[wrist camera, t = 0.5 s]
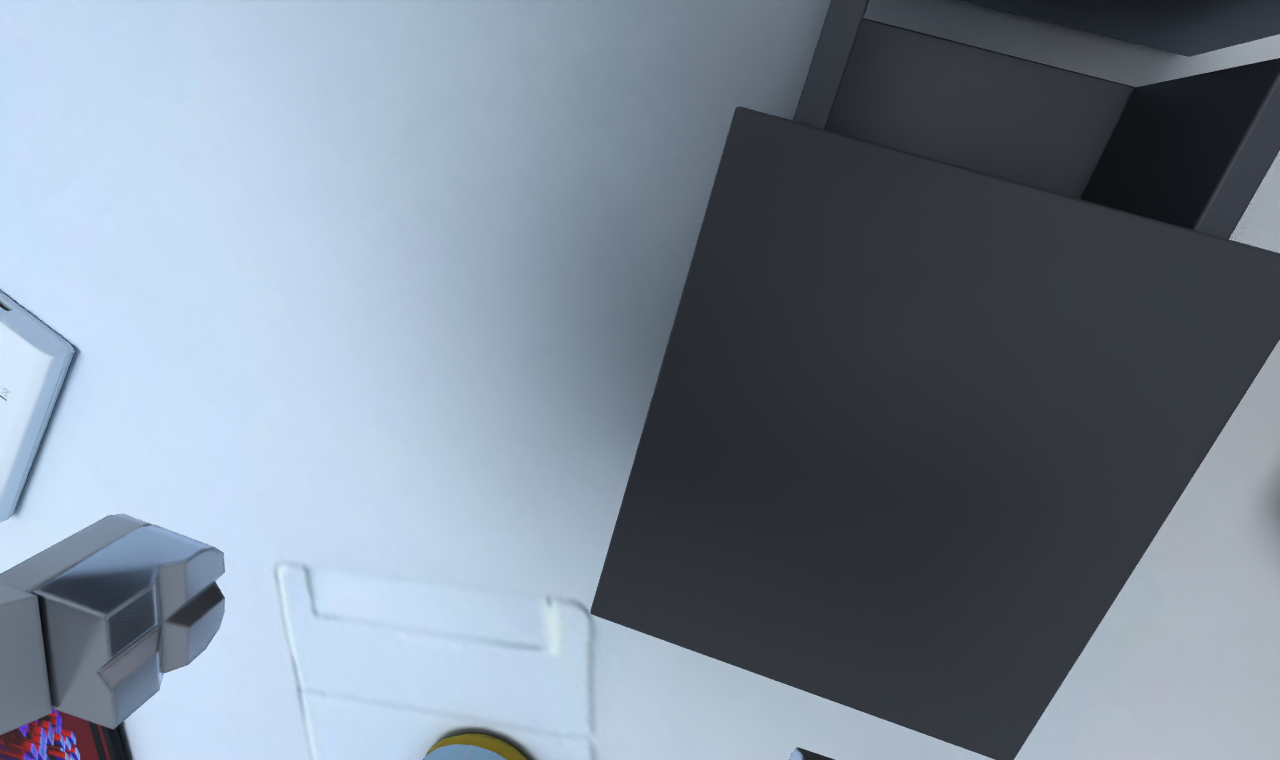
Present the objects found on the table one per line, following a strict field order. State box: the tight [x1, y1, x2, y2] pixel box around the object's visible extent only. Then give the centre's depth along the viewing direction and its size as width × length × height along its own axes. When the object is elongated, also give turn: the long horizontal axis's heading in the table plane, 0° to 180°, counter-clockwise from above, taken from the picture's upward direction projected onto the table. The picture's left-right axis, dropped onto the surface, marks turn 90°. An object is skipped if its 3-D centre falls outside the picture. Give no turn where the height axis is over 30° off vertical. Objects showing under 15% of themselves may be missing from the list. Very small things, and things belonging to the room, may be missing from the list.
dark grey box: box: [591, 107, 1280, 760], centre depth 21 cm, size 15×13×10 cm
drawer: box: [793, 0, 1280, 240], centre depth 18 cm, size 18×11×8 cm, turn 165°
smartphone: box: [0, 709, 126, 760], centre depth 43 cm, size 8×1×15 cm
